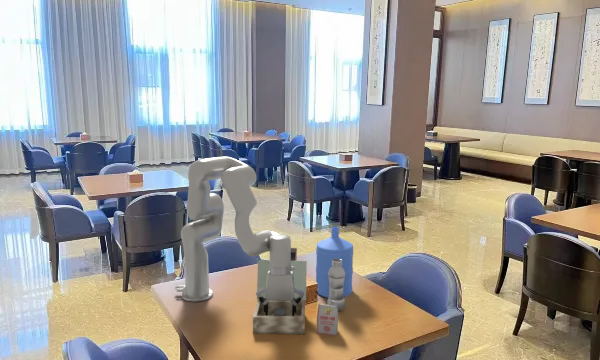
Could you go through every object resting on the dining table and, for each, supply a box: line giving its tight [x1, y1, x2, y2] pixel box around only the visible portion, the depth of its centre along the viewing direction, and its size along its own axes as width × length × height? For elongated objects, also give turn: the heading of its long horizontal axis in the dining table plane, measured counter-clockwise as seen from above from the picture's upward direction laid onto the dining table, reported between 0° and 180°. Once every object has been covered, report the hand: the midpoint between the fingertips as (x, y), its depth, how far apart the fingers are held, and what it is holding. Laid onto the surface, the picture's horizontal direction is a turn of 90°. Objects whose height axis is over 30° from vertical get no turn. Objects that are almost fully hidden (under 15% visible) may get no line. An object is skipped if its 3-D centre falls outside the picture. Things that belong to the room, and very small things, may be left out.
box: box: [252, 299, 306, 335], centre depth 164 cm, size 18×14×6 cm
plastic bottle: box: [327, 259, 346, 312], centre depth 175 cm, size 6×7×20 cm
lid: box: [256, 259, 308, 301], centre depth 172 cm, size 19×15×1 cm
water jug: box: [315, 226, 354, 299], centre depth 191 cm, size 16×16×28 cm
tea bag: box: [316, 303, 339, 337], centre depth 158 cm, size 4×7×10 cm, turn 74°
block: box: [274, 308, 286, 316], centre depth 163 cm, size 5×4×4 cm
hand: (280, 314), depth 164 cm, fingers open, 9 cm apart
